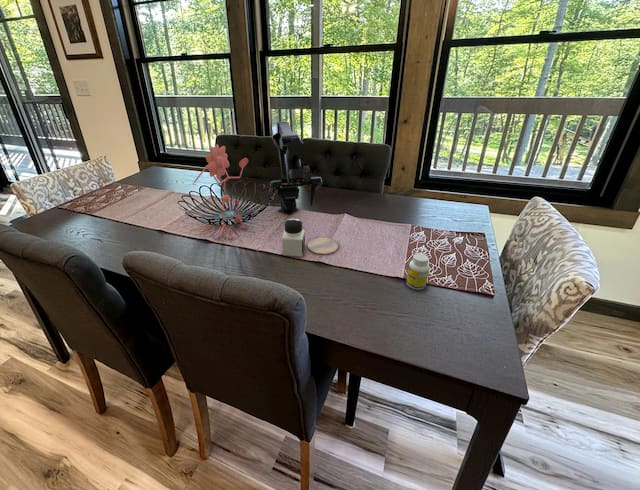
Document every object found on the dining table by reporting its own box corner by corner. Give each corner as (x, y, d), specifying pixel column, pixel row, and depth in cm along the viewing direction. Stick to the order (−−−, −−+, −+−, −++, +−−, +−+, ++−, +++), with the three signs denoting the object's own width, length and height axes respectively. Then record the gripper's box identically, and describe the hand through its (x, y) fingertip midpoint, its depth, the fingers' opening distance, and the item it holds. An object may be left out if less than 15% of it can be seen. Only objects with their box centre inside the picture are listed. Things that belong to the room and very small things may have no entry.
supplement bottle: (402, 279, 95) (407, 252, 90) (420, 278, 95) (425, 251, 91) (410, 291, 90) (416, 263, 86) (429, 289, 90) (435, 261, 86)
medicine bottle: (302, 257, 108) (302, 226, 102) (282, 255, 109) (280, 225, 104) (305, 246, 114) (305, 217, 109) (286, 245, 115) (284, 216, 110)
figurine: (258, 221, 134) (251, 138, 118) (218, 250, 114) (204, 156, 98) (230, 214, 141) (220, 135, 125) (188, 240, 122) (170, 151, 105)
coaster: (301, 247, 114) (301, 246, 113) (319, 235, 121) (319, 234, 120) (326, 258, 107) (326, 257, 107) (343, 245, 114) (343, 244, 114)
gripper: (269, 159, 107) (274, 203, 104) (322, 155, 109) (329, 198, 106) (268, 171, 118) (272, 211, 115) (316, 167, 120) (322, 206, 117)
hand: (298, 207), depth 113 cm, fingers open, 9 cm apart
